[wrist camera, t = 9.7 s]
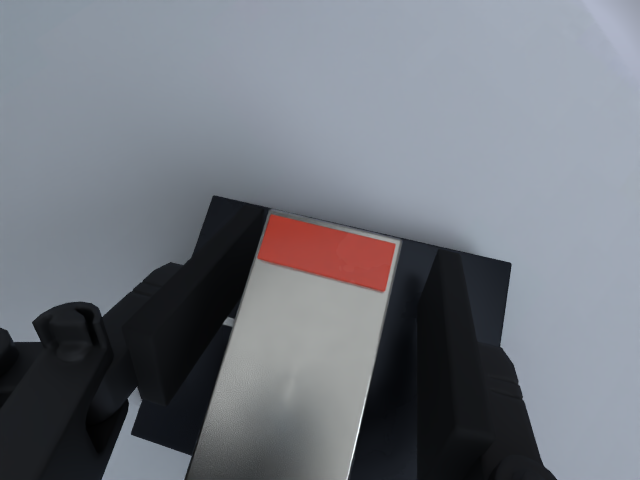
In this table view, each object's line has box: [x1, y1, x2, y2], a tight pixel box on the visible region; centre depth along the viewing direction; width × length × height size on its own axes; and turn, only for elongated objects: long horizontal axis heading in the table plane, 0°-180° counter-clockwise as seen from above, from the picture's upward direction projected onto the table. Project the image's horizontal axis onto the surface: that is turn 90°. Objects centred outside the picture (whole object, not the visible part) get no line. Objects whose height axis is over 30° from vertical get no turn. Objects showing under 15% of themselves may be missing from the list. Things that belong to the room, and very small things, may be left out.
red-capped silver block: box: [184, 209, 403, 480], centre depth 10 cm, size 6×3×8 cm, turn 165°
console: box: [131, 196, 512, 480], centre depth 15 cm, size 14×11×2 cm
